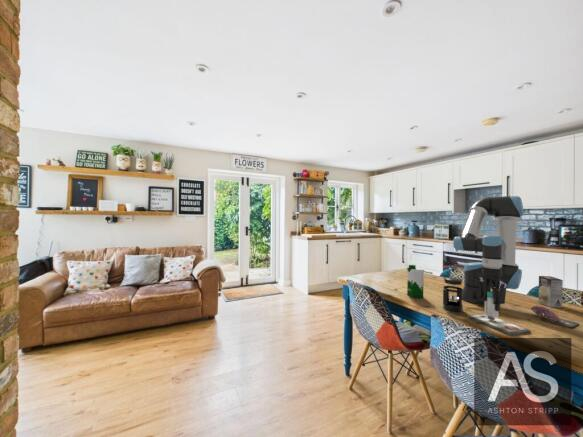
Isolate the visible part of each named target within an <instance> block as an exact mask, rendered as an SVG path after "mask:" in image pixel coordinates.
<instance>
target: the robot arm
mask: <svg viewBox="0 0 583 437" xmlns="http://www.w3.org/2000/svg"><path fill="white" fill-rule="evenodd" d="M524 213H525V211H524V206H523V201H522V198H521V197H520V196H518V195H507V196H505V195H504V196H488V197H487V196H486V197H483V198H481V199H479V200H477V201H476V202H475V203H473V204H472V205H471V206H470V208H469V210H468V215H469V216H468V217H467V220H466V222H465V224H464V228H463V230H462V232H461V235H460V236H459V235H458V236H454V237H453V240H452V241H453V243H452V244H453V248H454V250H457V251H463V252H475V253H477V252H478V253H481V254H482V255H481V260H482V261H481V262H467V263H464V270H463V275H464V276H463V283H464V284H463V285H464V286H463V288H462V289H463V292H462V301H465V302H469V303H472V304H478V305H483V307H484V314H486V315H487V291H493V298H494V303H492V317H494V318H495V317H496V318H499V312H500V311H501V305H505V304H506V296H507V290H517V289H518V288H519V287H520V284H521V280H522V278H523V277H522V276H523V270H522V269H520V268H519V266H520V265H518V264H517V262H516V252H517V250H516V249H517V248H516V247H517V246H516V245H517V222H518V221H519V220H521V217H523V216H524ZM489 216H490V217H491V216H492V217H494V220H495V221H496V222H497V227H496V235H489V234H487V235H483V236H482V237H479V234H480V232H481V231H480V230H481V229H482V225H483V223H484V221H485V220H484V219H486V218H487V217H489ZM491 289H492V290H491Z"/></svg>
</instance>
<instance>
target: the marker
mask: <svg viewBox="0 0 583 437" xmlns="http://www.w3.org/2000/svg"><path fill="white" fill-rule="evenodd" d="M492 303H494V298H493V291H492V290H490V291H487V315H488V319H491V320H495V318H494V317H492Z"/></svg>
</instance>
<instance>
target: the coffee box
mask: <svg viewBox="0 0 583 437" xmlns="http://www.w3.org/2000/svg"><path fill="white" fill-rule="evenodd" d="M563 282H564V281H563V279H561V278H558V277H555V276H550V275H548V276H547V275H538V302H539V303H540V304H542V305H545V306H548V307H550V308H561V307H562V308H563V285H564V284H563Z"/></svg>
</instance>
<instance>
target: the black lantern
mask: <svg viewBox="0 0 583 437" xmlns="http://www.w3.org/2000/svg"><path fill="white" fill-rule="evenodd" d="M448 269H449V270H451V272H452V273H455V271H457V270H458V268H456V267H448ZM443 280H444V283H445V284H448V285H444V286H443V288H442V289H443V290H442V305H443V306H442V309H443V310H445V311H447V312H450V313H459V314H460V313H463V312H464V310H463V309H464V308H463V306H464V305H463V304H462V303H463V299H462V292H463V288H462V287H460V286H461V285H462V284H463V282H464V279H462V278H458V277H453V276H451V277H450V276H449V277H447V276H446V277H443ZM458 286H459V287H458ZM450 293H456V295H455V296H454V295H450Z"/></svg>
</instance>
